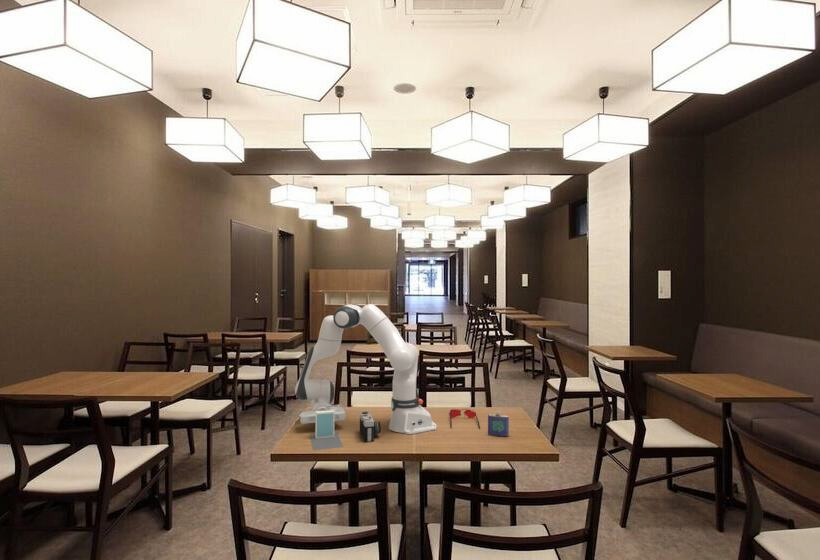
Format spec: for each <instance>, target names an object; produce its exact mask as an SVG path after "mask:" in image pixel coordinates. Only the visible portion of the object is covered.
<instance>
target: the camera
mask: <svg viewBox="0 0 820 560" xmlns="http://www.w3.org/2000/svg"><path fill="white" fill-rule="evenodd" d="M359 433H360V434H359V435H360V436H361V438H362V440H363V442H364V443H372V442H375V436H377V435H380V434H381V433H382V425H381V422H380V421H375V420H374V419H373V416H372V415H371V414H370V412H369V411H361V412H359Z"/></svg>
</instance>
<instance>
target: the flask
mask: <svg viewBox="0 0 820 560" xmlns="http://www.w3.org/2000/svg"><path fill="white" fill-rule="evenodd" d="M509 421H510V417H509V416H508V415H503V414H502V415H501V411H497V412H496V413H490V414H488V416H487V435H488V436H490V437H499V438H500V437H504V438H508V437H509V436H510V435H509V431H510V429H509V428H510V425H509V423H510V422H509Z"/></svg>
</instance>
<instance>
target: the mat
mask: <svg viewBox="0 0 820 560" xmlns="http://www.w3.org/2000/svg"><path fill="white" fill-rule="evenodd" d="M309 436H310V441H311V446H312V450H313V451H318V450H327V449H329V450H330V449H338V448H340V449H341V448H344V446H343V443H342V440H341V438H340V436H339V433H338V432H334V437H327V438H315V434H309Z"/></svg>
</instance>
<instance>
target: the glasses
mask: <svg viewBox="0 0 820 560" xmlns="http://www.w3.org/2000/svg"><path fill="white" fill-rule="evenodd" d="M461 411H462V409H457V408H455V409H450V411H449V412H448V414H449V415H448V417H449V420H450V422H449V423H450V428H449V429H452V425H453V424H452V422H453V421H452V419H453V418H457V417H460V416H462V414H461V413H462V412H463V415H464V416H465V417H468V419H469V418H472V419H474V418H476V421H477V424H478V429H479V430H480V429H481V425H480V421H479V418H478V416H477V413H476V411H475V410H474V409H472V410H471V409H465V410H464V411H462V412H461Z"/></svg>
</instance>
